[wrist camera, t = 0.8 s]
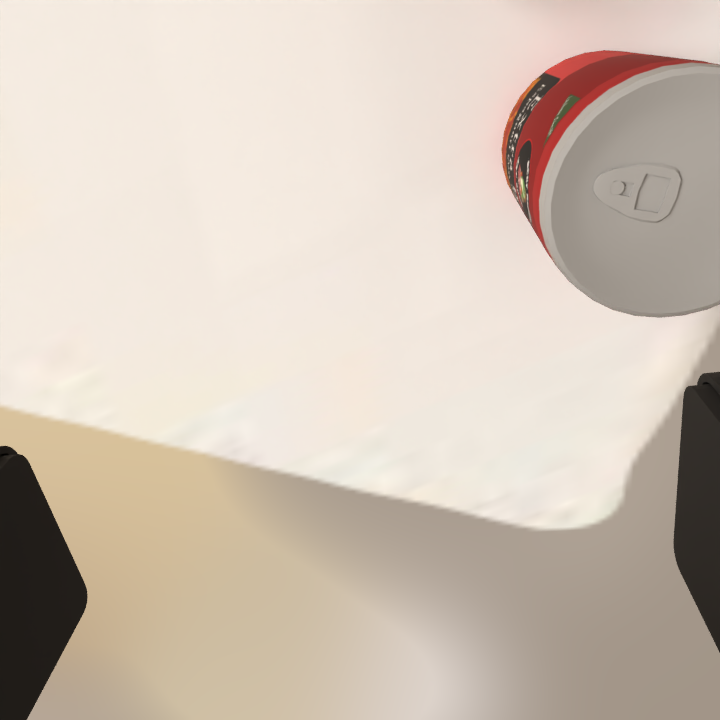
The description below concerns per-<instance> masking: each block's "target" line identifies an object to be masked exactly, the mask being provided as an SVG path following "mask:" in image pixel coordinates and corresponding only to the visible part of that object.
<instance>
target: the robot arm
mask: <svg viewBox="0 0 720 720" xmlns="http://www.w3.org/2000/svg"><path fill="white" fill-rule="evenodd" d="M681 428H682V429H681V442H680V456H679V470H678V485H677V500H676V514H675V529H674V553H675V557H676V561H677V565H678V567H679V570H680V572H681V574H682V576H683V578H684V580H685V582H686V584H687V586H688V589H689V591H690V593H691V595H692V597H693V599H694V601H695V603H696V605H697V607H698V609H699V611H700V613H701V615H702V617H703V619H704V621H705V623H706V625H707V627H708V629H709V631H710V633H711V635H712V637H713V640H714V642H715V644H716V646H717V648H718V650H719V652H720V372H714V373H704V374H702V375H701V376H700V378H699V380H698V383H697V385H695V386H688V387H687V388H686V389H685V392H684V398H683V414H682V427H681ZM86 604H87V589H86V586H85V583H84V581H83V579H82V577H81V574H80V572H79V570H78V568H77V566H76V564H75V561H74V559H73V557H72V555H71V553H70V551H69V548H68V546H67V544H66V542H65V540H64V537H63V535H62V533H61V531H60V529H59V527H58V524H57V522H56V520H55V518H54V516H53V514H52V511H51V509H50V507H49V505H48V503H47V500H46V498H45V496H44V494H43V492H42V490H41V487H40V485H39V483H38V481H37V479H36V477H35V474H34V472H33V470H32V468H31V466H30V463H29V462H28V460H27V459H26V458H25V457H24V456H23V455H19V454H17V452H16V451H15V450H13V449H12V448H11V447H8V446H0V720H27V718H28V716H29V714H30V712H31V711H32V709H33V707H34V705H35V703H36V701H37V699H38V697H39V696H40V694H41V692H42V690H43V688H44V686H45V684H46V682H47V681H48V679H49V677H50V675H51V673H52V671H53V669H54V667H55V666H56V664H57V662H58V660H59V658H60V656H61V654H62V652H63V651H64V649H65V647H66V645H67V643H68V641H69V639H70V637H71V636H72V634H73V632H74V630H75V628H76V626H77V624H78V622H79V621H80V618H81V617H82V615H83V613H84V610H85V608H86Z"/></svg>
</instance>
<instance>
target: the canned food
mask: <svg viewBox="0 0 720 720" xmlns="http://www.w3.org/2000/svg"><path fill="white" fill-rule="evenodd" d="M502 161H503V169H504V173H505V176H506V180H507V183H508V185H509V187H510V189H511V191H512V193H513V195H514V197H515V198H516V200H517V202H518V204H519V205H520V207H521V209H522V210H523V212H524V214H525V215H526V217H527V219H528V221H529V222H530V224H531V226H532V227H533V229H534V231H535V233H536V234H537V236H538V238H539V239H540V241H541V243H542V244H543V246H544V248H545V250H546V251H547V253H548V255H549V256H550V257H551V258H552V260H553V262H554V263H555V265H556V266H557V267H558V269H559V270H560V271H561V272H562V273H563V274H564V276H565V277H566V278H567V279H568V280H569V282H571V283H572V284H573V285H574V286H575V287H576V288H578V289H579V290H580V291H582V292H583V293H584V294H585V295H587V296H588V297H589V298H591V299H592V300H594V301H596V302H598V303H600V304H602V305H604V306H606V307H608V308H610V309H612V310H616V311H619V312H623V313H627V314H631V315H635V316H646V317H670V316H681V315H687V314H691V313H695V312H698V311H702V310H706V309H709V308H712V307H714V306H716V305H719V304H720V65H719V64H712V63H708V62H704V61H696V60H687V59H679V58H671V57H663V56H654V55H646V54H638V53H630V52H620V51H605V50H604V51H597V52H589V53H583V54H581V55H578V56H575V57H572V58H569V59H566V60H564V61H562V62H560V63H559V64H557V65H555V66H553V67H551V68H550V69H548V70H547V71H545V72H544V73H543V74H542V75H541V76H539V77H538V78H537V79H536V80H535V81H533V82H532V83H531V85H530V86H529V87H528V88H527V89H526V91H525V92H524V93H523V94H522V95H521V96H520V98H519V100H518V101H517V103H516V105H515V107H514V108H513V110H512V112H511V114H510V116H509V119H508V122H507V125H506V128H505V131H504V137H503V144H502Z"/></svg>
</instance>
